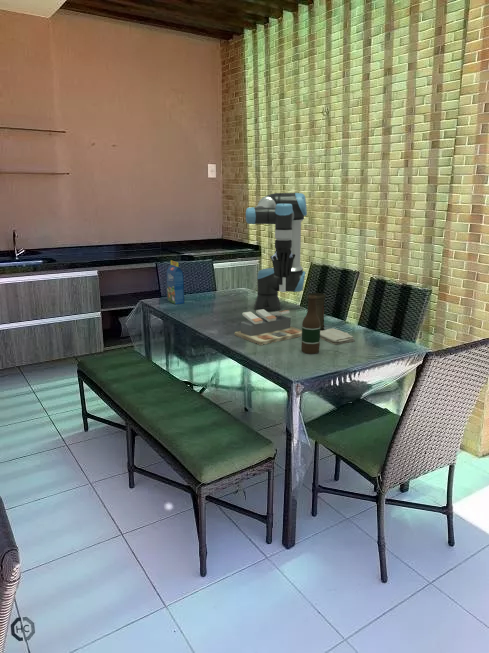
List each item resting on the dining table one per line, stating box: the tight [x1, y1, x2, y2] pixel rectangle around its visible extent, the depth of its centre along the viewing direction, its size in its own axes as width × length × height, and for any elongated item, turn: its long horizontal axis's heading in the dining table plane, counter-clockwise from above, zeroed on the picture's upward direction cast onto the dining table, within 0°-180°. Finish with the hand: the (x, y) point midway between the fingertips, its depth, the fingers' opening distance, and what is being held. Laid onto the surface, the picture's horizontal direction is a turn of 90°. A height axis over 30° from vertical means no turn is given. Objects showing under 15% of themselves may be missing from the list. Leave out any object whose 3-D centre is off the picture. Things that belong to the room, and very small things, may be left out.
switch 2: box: [269, 309, 290, 317], centre depth 240 cm, size 4×10×2 cm, turn 36°
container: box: [307, 292, 327, 331], centre depth 239 cm, size 9×9×18 cm
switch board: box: [234, 325, 302, 346], centre depth 234 cm, size 28×20×2 cm
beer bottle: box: [301, 295, 321, 355], centre depth 208 cm, size 8×8×24 cm
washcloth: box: [320, 328, 355, 346], centre depth 229 cm, size 12×18×3 cm, turn 29°
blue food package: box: [166, 259, 185, 305], centre depth 301 cm, size 6×12×25 cm, turn 31°
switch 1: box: [242, 311, 263, 324], centre depth 231 cm, size 4×10×2 cm, turn 36°
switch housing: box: [239, 314, 292, 336], centre depth 237 cm, size 24×8×5 cm, turn 126°
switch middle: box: [255, 309, 276, 322], centre depth 236 cm, size 4×10×2 cm, turn 36°
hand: (282, 291), depth 227 cm, fingers closed
